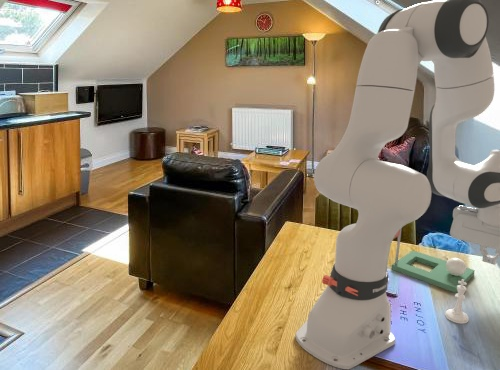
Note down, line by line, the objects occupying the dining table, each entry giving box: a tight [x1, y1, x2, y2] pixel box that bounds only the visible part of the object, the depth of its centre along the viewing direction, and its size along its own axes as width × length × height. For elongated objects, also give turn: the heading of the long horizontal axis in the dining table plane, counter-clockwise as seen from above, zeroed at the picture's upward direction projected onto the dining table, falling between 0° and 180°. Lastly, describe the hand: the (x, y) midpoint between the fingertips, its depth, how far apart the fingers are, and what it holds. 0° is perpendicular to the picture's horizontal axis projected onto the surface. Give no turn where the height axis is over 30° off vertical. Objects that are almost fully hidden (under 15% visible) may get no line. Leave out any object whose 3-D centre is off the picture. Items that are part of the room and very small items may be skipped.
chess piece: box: [445, 279, 469, 324], centre depth 89 cm, size 5×5×10 cm
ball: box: [446, 257, 467, 276], centre depth 107 cm, size 5×5×5 cm
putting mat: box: [391, 227, 476, 294], centre depth 109 cm, size 17×18×14 cm
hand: (489, 262), depth 101 cm, fingers closed
